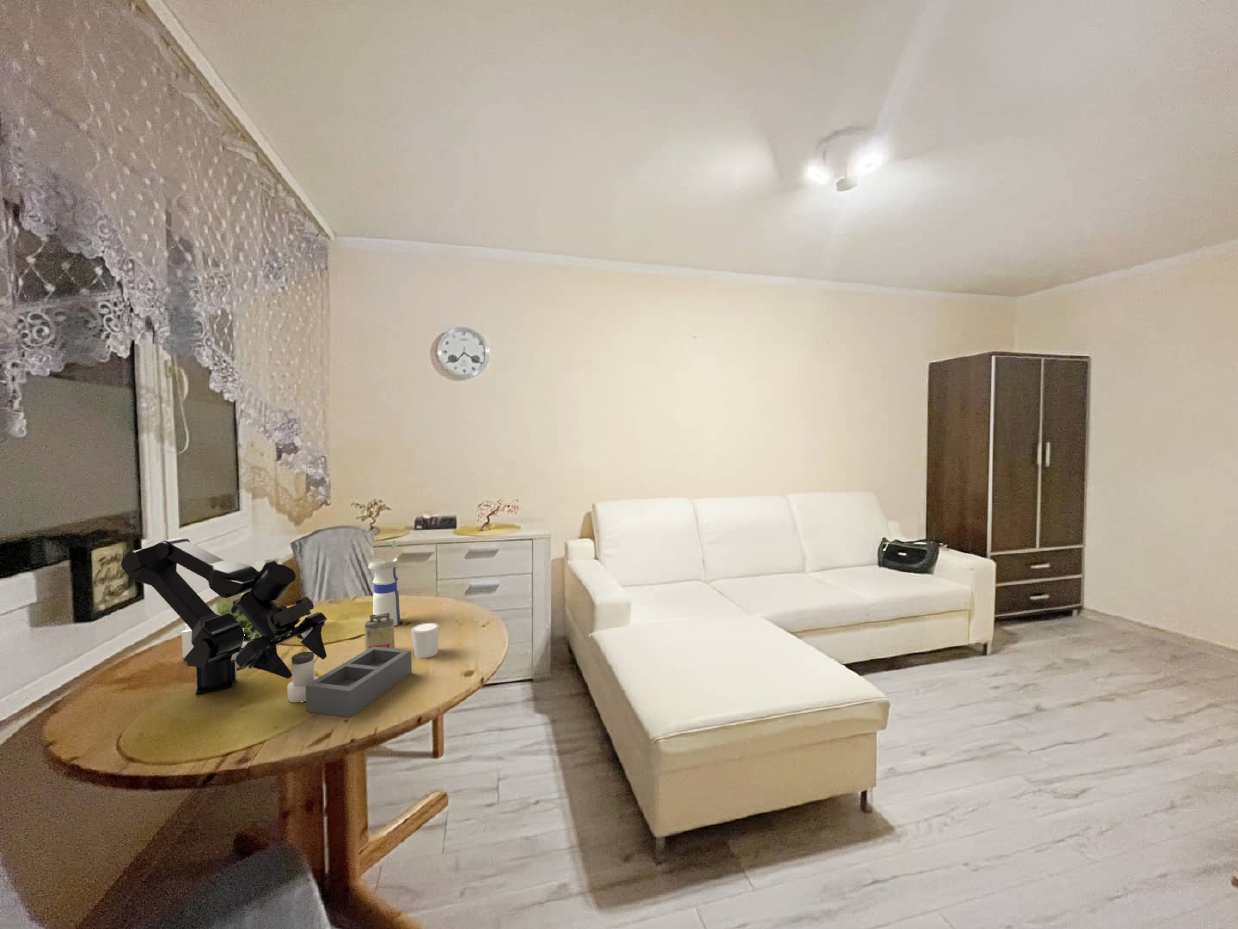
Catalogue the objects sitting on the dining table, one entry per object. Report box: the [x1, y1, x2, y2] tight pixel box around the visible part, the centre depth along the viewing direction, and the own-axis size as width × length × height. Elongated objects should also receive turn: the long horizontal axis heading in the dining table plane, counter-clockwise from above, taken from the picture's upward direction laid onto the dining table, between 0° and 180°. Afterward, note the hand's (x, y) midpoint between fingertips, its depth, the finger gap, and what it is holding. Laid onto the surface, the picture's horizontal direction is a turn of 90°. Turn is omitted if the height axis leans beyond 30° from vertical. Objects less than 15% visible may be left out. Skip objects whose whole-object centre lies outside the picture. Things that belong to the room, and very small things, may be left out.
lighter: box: [364, 612, 396, 651], centre depth 132 cm, size 7×4×10 cm, turn 112°
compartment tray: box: [305, 647, 413, 718], centre depth 111 cm, size 20×11×6 cm, turn 167°
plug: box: [286, 651, 319, 702], centre depth 109 cm, size 6×6×9 cm
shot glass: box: [410, 622, 440, 659], centre depth 130 cm, size 7×7×7 cm
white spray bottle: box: [367, 539, 401, 627], centre depth 151 cm, size 8×9×25 cm
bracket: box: [181, 623, 194, 659], centre depth 134 cm, size 13×7×8 cm, turn 124°
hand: (308, 667), depth 109 cm, fingers open, 9 cm apart
